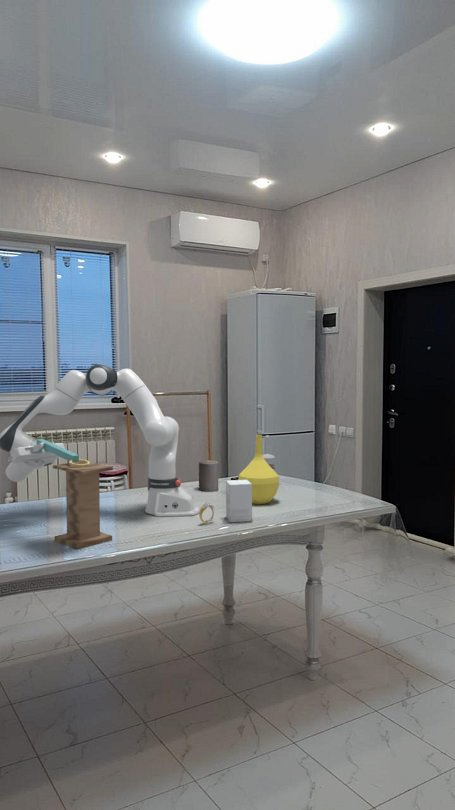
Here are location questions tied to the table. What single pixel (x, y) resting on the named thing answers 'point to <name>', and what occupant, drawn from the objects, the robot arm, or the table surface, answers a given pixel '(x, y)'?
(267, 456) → the french press
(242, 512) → the supplement box
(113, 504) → the table surface
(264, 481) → the vase
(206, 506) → the ring
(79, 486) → the stand
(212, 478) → the pillar candle
